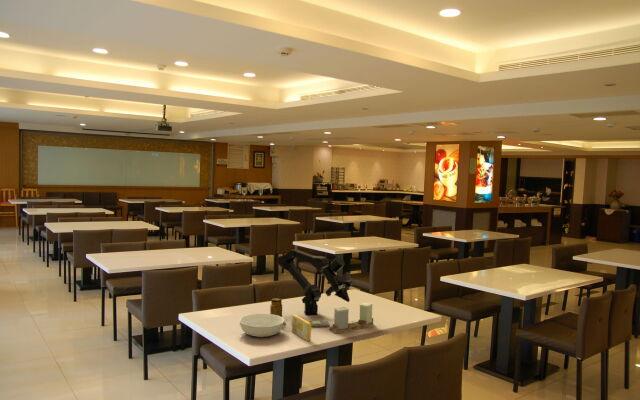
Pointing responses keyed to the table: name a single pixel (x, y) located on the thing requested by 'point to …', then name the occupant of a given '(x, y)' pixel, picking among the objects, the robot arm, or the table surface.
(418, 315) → the table surface
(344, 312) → the slate key
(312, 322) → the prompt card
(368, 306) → the sage key
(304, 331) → the candy box
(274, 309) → the condiment
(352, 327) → the brown holder tray
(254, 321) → the serving bowl
